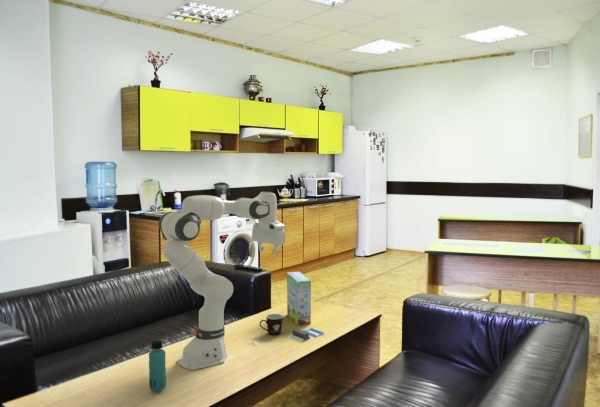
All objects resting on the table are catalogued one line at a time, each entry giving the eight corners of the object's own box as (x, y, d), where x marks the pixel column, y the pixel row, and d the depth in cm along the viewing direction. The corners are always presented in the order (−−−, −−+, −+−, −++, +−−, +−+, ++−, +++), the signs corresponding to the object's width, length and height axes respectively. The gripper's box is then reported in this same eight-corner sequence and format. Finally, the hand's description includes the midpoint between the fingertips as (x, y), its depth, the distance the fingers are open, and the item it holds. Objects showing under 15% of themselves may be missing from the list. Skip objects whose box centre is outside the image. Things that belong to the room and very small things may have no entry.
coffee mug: (283, 332, 248) (283, 314, 247) (281, 338, 239) (281, 319, 238) (262, 331, 249) (262, 313, 248) (259, 337, 241) (259, 318, 240)
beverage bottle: (168, 387, 187) (167, 338, 186) (164, 395, 181) (163, 345, 179) (151, 387, 187) (150, 338, 185) (146, 395, 181) (145, 345, 179)
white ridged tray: (300, 344, 232) (300, 340, 232) (287, 338, 240) (287, 334, 239) (326, 335, 244) (326, 331, 244) (312, 330, 252) (312, 326, 252)
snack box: (285, 314, 277) (286, 271, 274) (299, 313, 279) (300, 271, 277) (296, 327, 256) (297, 281, 254) (311, 325, 259) (312, 280, 256)
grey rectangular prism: (304, 340, 235) (304, 334, 234) (292, 335, 241) (292, 329, 241) (308, 339, 237) (308, 333, 236) (296, 334, 243) (296, 328, 243)
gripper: (248, 222, 236) (249, 250, 238) (278, 226, 223) (278, 255, 224) (257, 221, 241) (258, 248, 242) (287, 225, 228) (287, 253, 229)
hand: (268, 251), depth 233 cm, fingers open, 8 cm apart
